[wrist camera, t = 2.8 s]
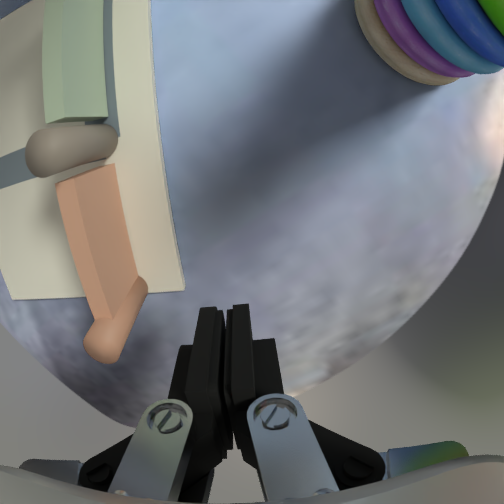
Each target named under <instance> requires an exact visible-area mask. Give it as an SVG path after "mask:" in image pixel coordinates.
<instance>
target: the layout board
mask: <svg viewBox="0 0 504 504" xmlns="http://www.w3.org/2000/svg"><path fill="white" fill-rule="evenodd" d="M44 9H45V0H32V1H30V2H28V3H27V4H25V5H23V6H21V7H20V8H18V9H16V10H15V11H13V12H12V13H10V14H8V15H7V16H5V17H4V18H2V19H1V20H0V269H1V272H2V275H3V277H4V280H5V283H6V285H7V288H8V290H9V293H10V295H11V297H12V300H20V299H49V298H72V297H86V295H85V292H84V289H83V287H82V284H81V281H80V278H79V275H78V272H77V269H76V265H75V262H74V259H73V256H72V252H71V249H70V245H69V242H68V238H67V235H66V231H65V227H64V223H63V219H62V215H61V211H60V206H59V202H58V197H57V193H56V188H55V183H58V182H60V181H62V180H65V179H67V178H70V177H72V176H75V175H77V174H80V173H83V172H85V171H88V170H90V169H93V168H96V167H99V166H103V165H108V164H113V163H115V169H116V175H117V181H118V186H119V192H120V197H121V202H122V207H123V212H124V217H125V222H126V226H127V231H128V235H129V240H130V244H131V248H132V252H133V256H134V260H135V264H136V268H137V272H138V276H140V277H142V278H143V279H144V280H145V282H146V283H147V286H148V293H155V292H169V291H182V290H184V289H185V286H186V284H185V280H184V275H183V270H182V265H181V260H180V255H179V250H178V244H177V239H176V233H175V228H174V222H173V216H172V210H171V204H170V198H169V192H168V185H167V179H166V172H165V165H164V157H163V150H162V142H161V134H160V126H159V117H158V107H157V97H156V86H155V74H154V61H153V46H152V26H151V0H104V3H103V45H104V69H105V85H106V97H107V108H108V117H105V118H102V119H98V120H94V121H84V122H65V123H52V124H46V122H45V111H44V98H43V78H42V41H43V21H44ZM93 124H108V125H110V126H112V127H113V128H114V129H115V130H116V132H117V135H118V145H117V147H116V149H115V151H114V152H113V153H112V154H111V155H110V156H108V157H105V158H102V159H99V160H95V161H92V162H89V163H86V164H83V165H80V166H77V167H74V168H71V169H68V170H65V171H62V172H60V173H57V174H54V175H51V176H49V177H46V178H39V177H36V176H35V175H33V174H32V173H31V172H30V170H29V169H28V167H27V164H26V161H25V148H26V144H27V142H28V140H29V138H30V137H31V135H32V134H33V133H34V132H36V131H37V130H40V129H46V128H55V127H65V126H78V125H93Z"/></svg>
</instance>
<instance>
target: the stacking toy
mask: <svg viewBox="0 0 504 504" xmlns="http://www.w3.org/2000/svg"><path fill="white" fill-rule="evenodd" d="M354 4H355V11H356V16H357V19H358V22H359V25H360V27H361V29H362V32H363V34H364V35H365V37H366V39H367V40H368V42H369V44H370V45H371V46H372V48H373V49H374V50H375V51H376V53H377V54H378V55H379V56H380V57H381V58H382V59H383V60H384V61H385V62H386V63H387V64H388V65H389V66H390V67H392V68H393V69H394V70H396V71H397V72H399V73H400V74H402V75H404V76H405V77H407V78H409V79H411V80H414V81H416V82H419V83H423V84H427V85H446V84H449V83H452V82H454V81H456V80H457V79H459V78H461V77H468V76H471V75H473V74H475V73H477V74H491V73H495V72H498V71H500V70H501V69H503V68H504V0H354Z"/></svg>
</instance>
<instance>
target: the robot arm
mask: <svg viewBox="0 0 504 504" xmlns="http://www.w3.org/2000/svg"><path fill="white" fill-rule="evenodd" d="M233 433H234V436H235V441H236V445H237V448H238V449H241V452H242V456H243V460H244V461H245V462H246V463H248V464H250V465H251V466H252V467H254V468H255V469H257V474H258V477H259V482H260V485H261V489H262V493H263V496H264V500H265V502H255V503H235V504H504V456H501V455H488V454H487V455H473V456H469V454H468V452H467V450H466V448H465V447H464V446H463V445H462V444H460V443H458V442H455V441H444V442H438V443H432V444H427V445H419V446H412V447H404V448H394V449H388V451H387V452H381V453H378V452H376V451H374V450H372V449H371V448H368V447H366V446H363V445H361V444H359V443H357V442H354V441H352V440H350V439H348V438H345V437H343V436H341V435H339V434H337V433H335V432H332V431H330V430H328V429H326V428H324V427H322V426H320V425H318V424H316V423H314V422H312V421H310V420H308V419H307V417H306V415H305V412H304V410H303V408H302V406H301V404H300V403H299V401H297V400H296V399H295V398H293V397H291V396H288V395H286V394H284V391H283V385H282V379H281V373H280V367H279V361H278V355H277V350H276V344H275V339H274V338H271V339H261V340H253V338H252V329H251V320H250V311H249V304H239V305H233V309H229V310H227V320H226V326H225V320H224V314H223V310H217V307H203V308H200V311H199V316H198V321H197V326H196V331H195V336H194V342H193V345H181V346H180V348H179V352H178V356H177V360H176V365H175V369H174V373H173V378H172V382H171V386H170V391H169V395H168V399H165V400H160V401H157V402H155V403H153V404H151V405H150V406H149V407H148V408H147V409H146V410H145V412H144V413H143V415H142V417H141V419H140V421H139V423H138V425H137V428H136V430H135V432H134V434H132V435H130V436H129V437H127V438H125V439H124V440H122V441H120V442H119V443H117V444H115V445H113V446H112V447H110V448H108V449H106V450H105V451H103V452H101V453H99V454H98V455H96V456H94V457H92V458H90V459H89V460H88V461H86V462H85V463H81V462H80V461H79V460H76V461H74V460H72V461H71V460H68V461H67V460H42V459H30V460H27V461H25V462H23V463H22V465H20V467H19V468H14V467H9V466H2V465H0V504H208V500H209V495H210V491H211V486H212V482H213V478H214V467H216V466H217V465H218V464H219V463H221V462H222V459H227V450H232V449H233ZM232 504H234V503H232Z"/></svg>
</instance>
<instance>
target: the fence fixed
mask: <svg viewBox="0 0 504 504" xmlns="http://www.w3.org/2000/svg"><path fill="white" fill-rule="evenodd" d="M103 3H104V0H45V9H44V21H43V41H42V78H43V98H44V111H45V122H46V124H52V123H65V122H84V121H94V120H98V119H102V118H105V117H108V108H107V97H106V85H105V69H104V45H103Z"/></svg>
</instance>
